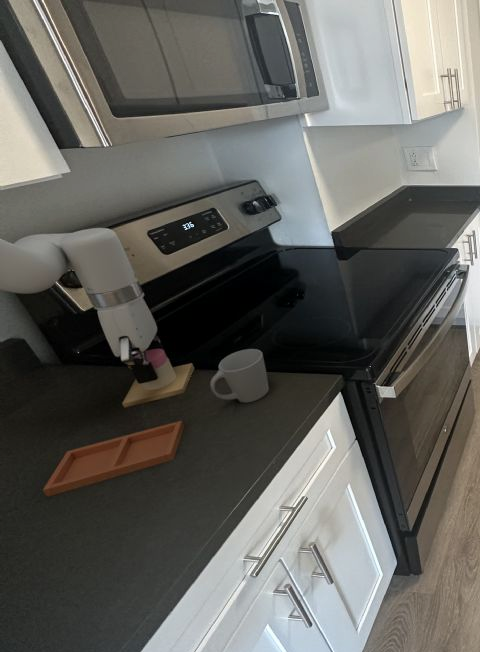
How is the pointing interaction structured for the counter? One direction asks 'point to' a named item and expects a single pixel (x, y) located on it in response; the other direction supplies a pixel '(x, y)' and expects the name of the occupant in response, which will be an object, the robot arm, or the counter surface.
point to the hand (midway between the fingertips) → (153, 370)
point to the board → (176, 387)
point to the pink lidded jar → (159, 369)
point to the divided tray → (115, 457)
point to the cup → (243, 376)
